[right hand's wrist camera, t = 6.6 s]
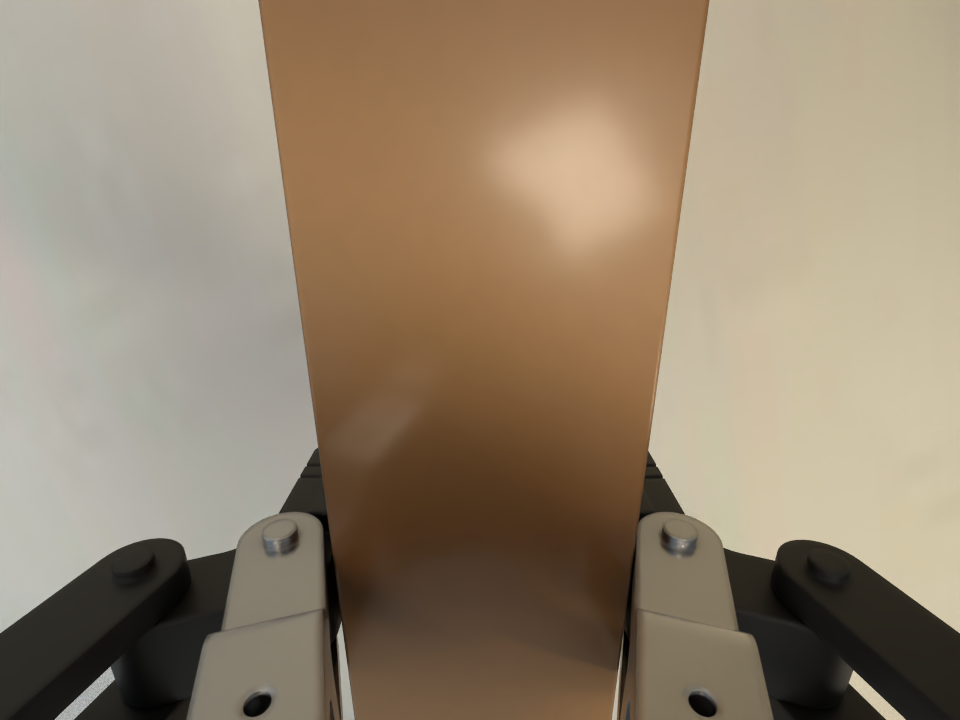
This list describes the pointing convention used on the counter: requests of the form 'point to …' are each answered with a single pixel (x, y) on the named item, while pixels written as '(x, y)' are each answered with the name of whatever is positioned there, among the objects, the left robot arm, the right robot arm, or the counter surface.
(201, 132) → the counter surface
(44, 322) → the counter surface
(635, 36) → the bar
